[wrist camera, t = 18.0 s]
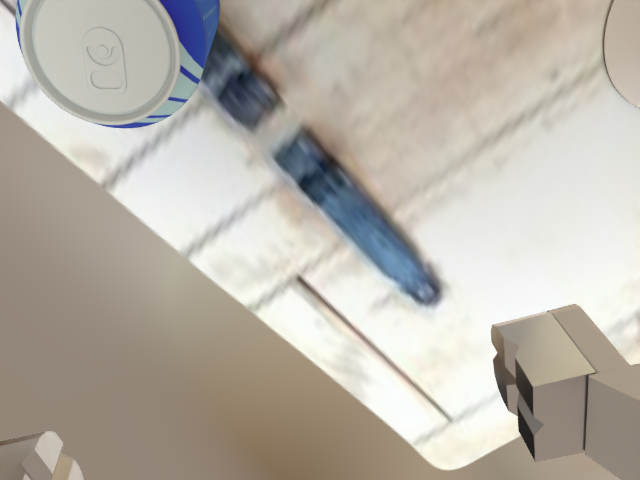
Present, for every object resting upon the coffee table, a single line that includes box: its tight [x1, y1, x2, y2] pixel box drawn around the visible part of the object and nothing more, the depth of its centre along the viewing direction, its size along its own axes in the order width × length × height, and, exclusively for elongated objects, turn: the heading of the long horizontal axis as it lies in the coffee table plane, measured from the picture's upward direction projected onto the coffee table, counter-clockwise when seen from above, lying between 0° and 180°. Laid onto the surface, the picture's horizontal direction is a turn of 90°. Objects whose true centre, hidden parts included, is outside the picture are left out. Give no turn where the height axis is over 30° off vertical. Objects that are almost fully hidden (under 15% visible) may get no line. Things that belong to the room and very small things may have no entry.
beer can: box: [16, 0, 220, 128], centre depth 31 cm, size 8×8×16 cm
